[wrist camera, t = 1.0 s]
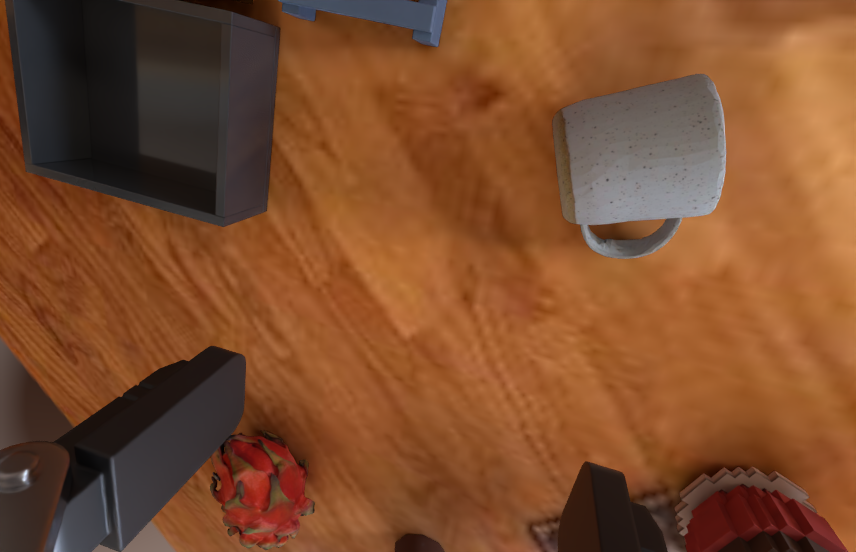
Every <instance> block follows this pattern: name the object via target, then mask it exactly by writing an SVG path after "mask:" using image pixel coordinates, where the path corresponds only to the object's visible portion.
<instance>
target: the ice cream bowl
mask: <svg viewBox="0 0 856 552" xmlns="http://www.w3.org/2000/svg"><path fill="white" fill-rule="evenodd" d="M395 552H444V550H443V549H442V547H441V546H440V545H439V543H438V542H436V541H434V540H432V539H430V538H428V537H426V536H424V535H405V536H404V537H402V538H401V539H400V540H398V541H397V542H396V543H395Z"/></svg>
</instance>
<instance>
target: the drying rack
mask: <svg viewBox="0 0 856 552" xmlns="http://www.w3.org/2000/svg"><path fill="white" fill-rule="evenodd" d="M278 1H280V2H282V11H283V12H285V13H287V14H290V15H292V16H295V17H297V18H300V19H305V20H310V21H315V13H316V10H321V11H326V12H331V13H335V14H340V15H345V16H350V17H355V18H360V19H365V20H370V21H374V22H379V23H384V24H389V25H394V26H399V27H404V28H409V29H413V36H412V39H414V40H416V41H417V42H419V43H421V44H424V45H429V46H434V47H438V45H439V39H440V34H441V29H442V24H443V19H444V13H445V8H446V3H447V0H419V1H418V2H413V1H408V0H278Z"/></svg>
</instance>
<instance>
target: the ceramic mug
mask: <svg viewBox="0 0 856 552" xmlns="http://www.w3.org/2000/svg"><path fill="white" fill-rule="evenodd" d="M552 127H553V137H554V147H555V156H556V167H557V176H558V184H559V191H560V200H561V208H562V214H563V217H564V218H565V219H566V220H567V221H569V222H570V223H574V224H580V226H581V232H582V234H583V237H584V240H585V241H586V243H587V244H588V246H589V247H590V248H591V249H592V250H594V251H595V252H597V253H599V254H601V255H603V256H606V257H611V258H618V259H629V258H638V257H642V256H646V255H649V254H651V253H653V252H655V251H657V250H659V249H660V248H661V247H663V246H664V245H665V244H666V243H667V242H668V241H669V240H670V239H671V238H672V237H673V235H674V234H675V232H676V231H677V229H678V227H679V225H680V223H681V220H682V217H694V216H702V215H707V214H710V213H711V212H712V211H713V210H714V209H715V208H716V206H717V204H718V201H719V199H720V196H721V190H722V187H723V184H724V176H725V163H726V141H725V125H724V115H723V108H722V104H721V100H720V97H719V95H718V93H717V91H716V87H715V85H714V83H713V81H712V80H711V79H710V78H709V77H708V76H706V75H705V74H695V75H690V76H686V77H682V78H678V79H674V80H669V81H665V82H660V83H656V84H651V85H647V86H642V87H638V88H634V89H630V90H626V91H622V92H618V93H613V94H609V95H604V96H600V97H595V98H590V99H586V100H582V101H579V102H577V103H574V104H572V105H569V106H567V107H564V108H563V109H561V110H559V111H558V112H557V113H556V114H555V116H554V118H553V121H552ZM655 219H666V220H665V222H664V224H663V225H662V226H661V227H660V228H659V229H658V230H657V231H656V232H654V233H653V234H651V235H649V236H647V237H644V238H642V239H634V240H613V239H605V240H603V239H601V238H599V237H597V236H596V235H595V234H594V233H593V232H591V230H590V228H589V226H588V225H602V224H612V223H619V222H626V221H639V220H655Z"/></svg>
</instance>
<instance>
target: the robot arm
mask: <svg viewBox="0 0 856 552" xmlns="http://www.w3.org/2000/svg"><path fill="white" fill-rule="evenodd" d="M245 374H246V360H245V357H244V356H243V355H242V354H239V353H236V352H232V351H229V350H226V349H223V348H219V347H216V346H210V347H208V348H206V349H205V350H204V351H202V352H201V353H200V354H198V355H197V356H195V357H194V358H193V359H191V360H190V361H186V360H181V361H179V362H176V363H173V364H171V365H168V366H165V367H163V368H160V369H158V370H157V371H155V372H154V373H152V374H151V375H150V376H148V377H147V378H145V379H144V380H142V381H141V382H140V383H139V385H138V386H137V385H135V386H134V387H132V388H131V389H129V390H128V391H126V392H125V393H124V394H123V396H122V397H118V398H116V399H115V400H114V401H112V402H111V403H109V404H108V405H106V406H105V407H103V408H102V409H101V410H99V411H98V412H96V413H95V414H93V415H92V416H90V417H89V418H88V419H86V420H85V421H83V422H82V423H80V424H79V425H78V426H76V427H75V428H73V429H72V430H70V431H69V432H67V433H66V434H65V435H63V436H62V437H60V438H59V439H57V440H56V441H54V442H48V441H33V442H26V443H20V444H17V445H13V446H10V447H7V448H4V449H2V450H0V552H92V551H93V550H94V549H95V548H96V547H97V546H98V545H99V544H100V545H103V546H105V547H108V548H110V549H113V550H116V551H118V552H121V551H122V550H123V549H124V548H125V547H126V546H127V545H128V544H129V543H130V542H131V541H132V540H133V539H134V537H135V536H136V535H137V534H138V533H139V532H140V531H141V530H142V529H143V528H144V527H145V526H146V525H147V523H148V522H149V521H150V520H151V519H152V518H153V517H154V516H155V515H156V514H157V513H158V512H159V511H160V510H161V509H162V508H163V507H164V505H165V504H166V503H167V502H168V501H169V500H170V499H171V498H172V497H173V496H174V495H175V494H176V493H177V492H178V491H179V489H180V488H181V487H182V486H183V485H184V484H185V483H186V482H187V481H188V480H189V479H190V478H191V477H192V476H193V475H194V473H195V472H196V471H197V470H198V469H199V468H200V467H201V466H202V465H203V464H204V463H205V462H206V461H207V460H208V459H209V457H210V456H211V455H212V454H213V453H214V452H215V451H216V450H217V449H218V448H219V447H220V446H221V445H222V444H223V443H224V441H225V440H226V439H227V438H228V437H229V436H230V435H231V434H232V433H233V432H234V430H235V429H236V427H237V426H238V424H239V422H240V420H241V417H242V414H243V411H244V400H245ZM558 552H668V551H667V548H666V544H665V541H664V537H663V534H662V531H661V529H660V528H659V526H658V525H657V523H656V522H655V520H654V519H653V517H652V516H651V514H650V513H649V511H648V510H647V508H646V507H645V506H642V505H639V504H636V503H633V502H630V498H629V493H628V489H627V484H626V480H625V476H624V474H623V473H622V472H620V471H616V470H613V469H610V468H607V467H603V466H600V465H597V464H594V463H590V462H584V464H583V465H582V467H581V469H580V471H579V474H578V476H577V479H576V481H575V484H574V486H573V488H572V491H571V493H570V496H569V498H568V500H567V503H566V505H565V508H564V510H563V513H562V516H561V520H560V525H559V532H558Z"/></svg>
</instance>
